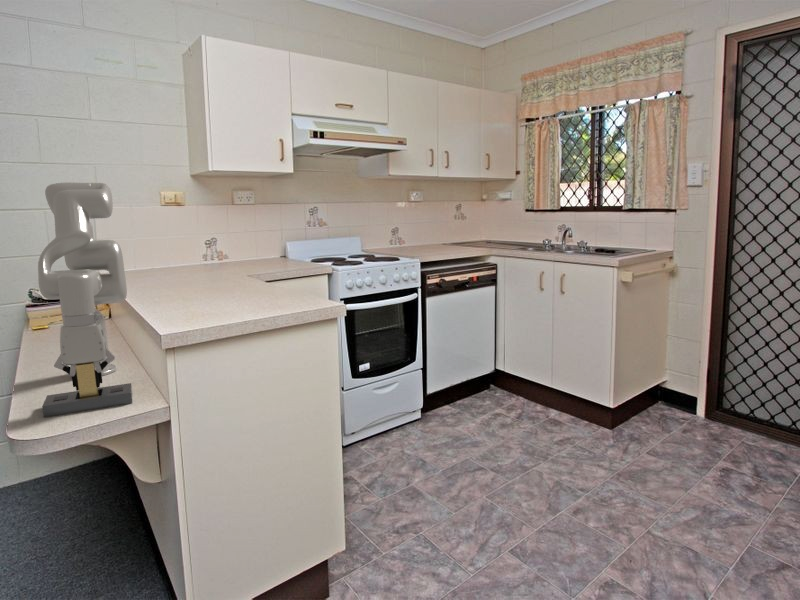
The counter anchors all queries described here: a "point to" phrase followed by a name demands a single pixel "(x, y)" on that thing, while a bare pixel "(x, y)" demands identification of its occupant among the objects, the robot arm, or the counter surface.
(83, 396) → the brass peg
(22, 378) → the counter surface
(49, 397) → the grey peg hole board
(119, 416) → the counter surface
